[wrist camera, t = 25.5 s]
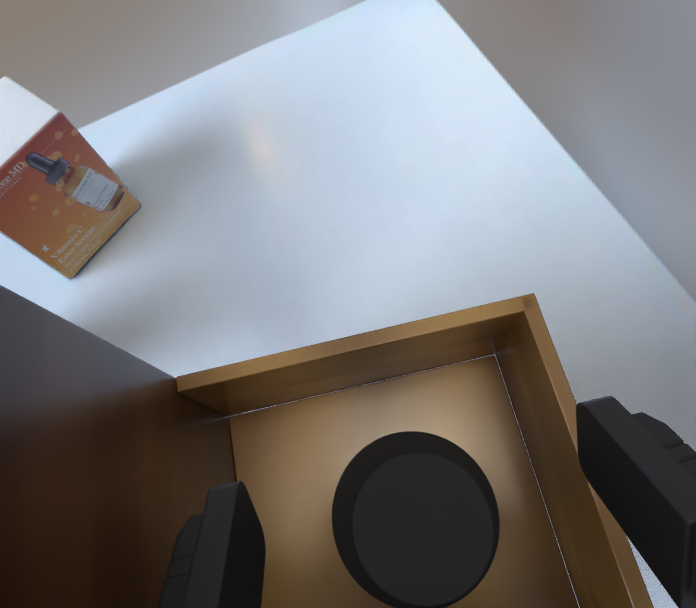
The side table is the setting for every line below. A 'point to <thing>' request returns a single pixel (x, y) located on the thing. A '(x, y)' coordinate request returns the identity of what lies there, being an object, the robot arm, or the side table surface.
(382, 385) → the wooden drawer
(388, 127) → the side table surface
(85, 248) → the small box
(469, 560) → the hat
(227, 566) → the robot arm
